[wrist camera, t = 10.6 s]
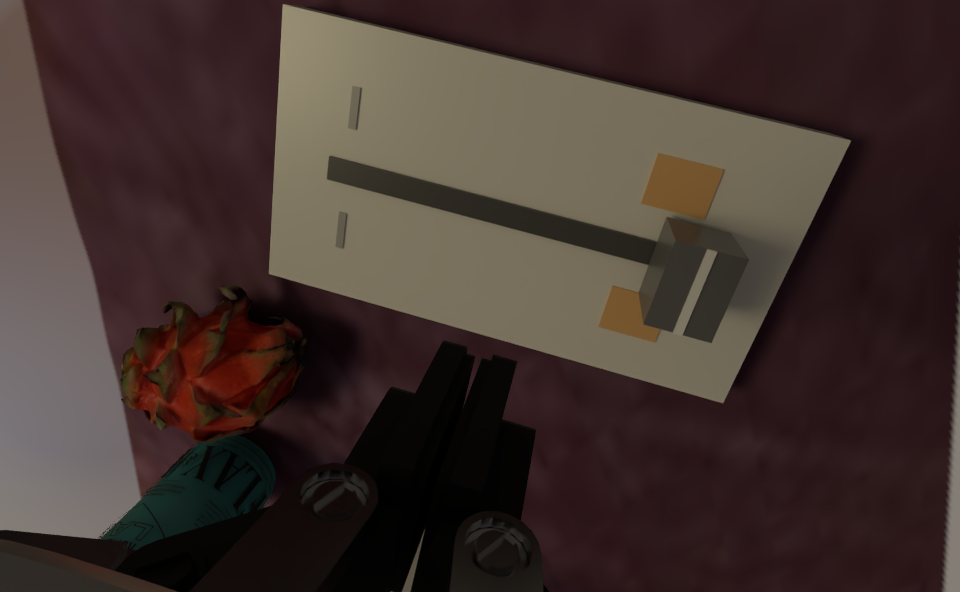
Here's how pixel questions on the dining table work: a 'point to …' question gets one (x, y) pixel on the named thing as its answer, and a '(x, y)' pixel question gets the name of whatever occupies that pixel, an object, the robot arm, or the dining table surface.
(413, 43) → the slider board
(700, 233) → the fader
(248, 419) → the dragon fruit
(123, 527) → the beverage bottle
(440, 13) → the dining table surface
